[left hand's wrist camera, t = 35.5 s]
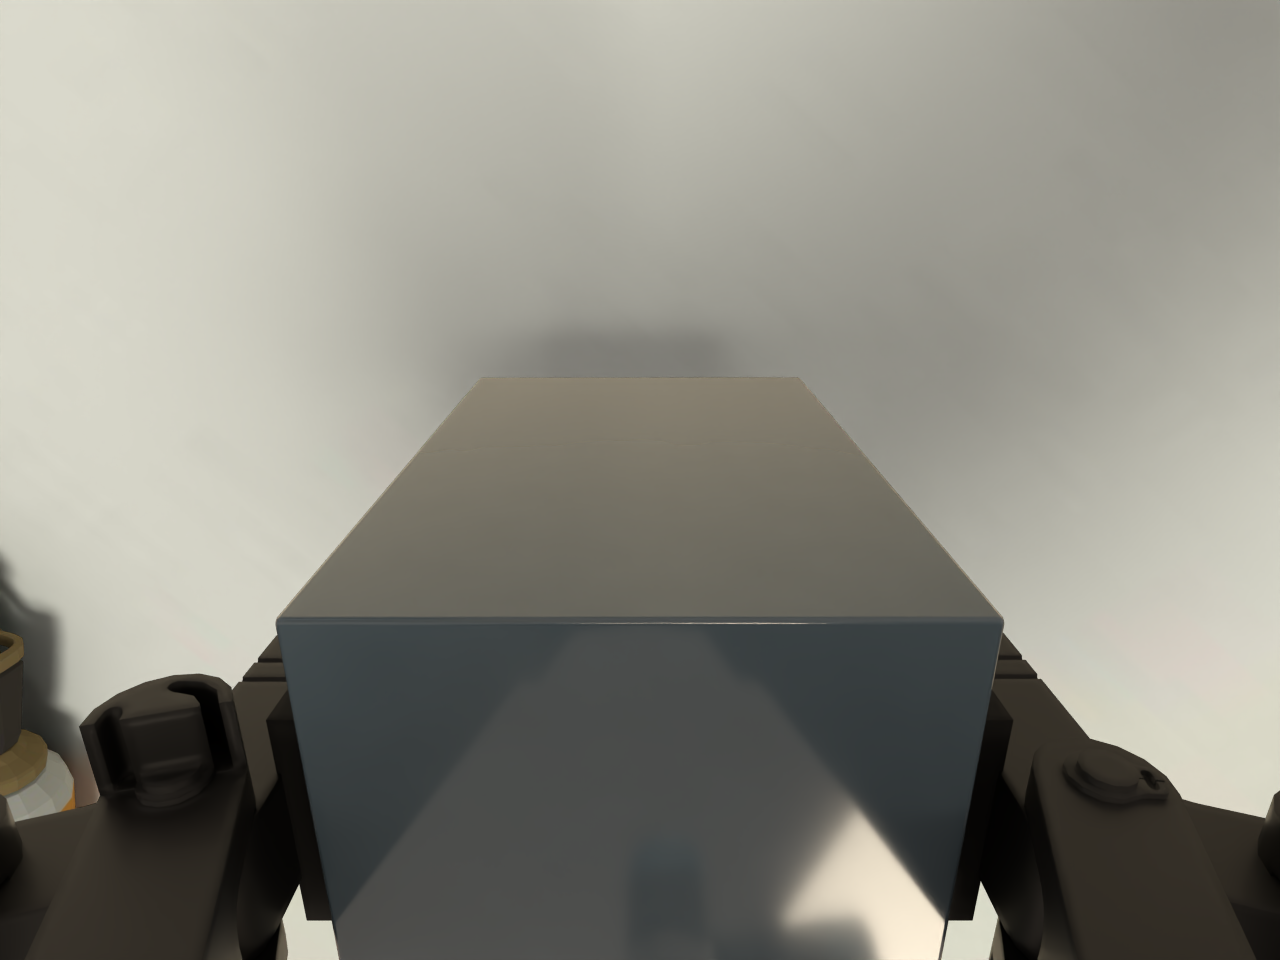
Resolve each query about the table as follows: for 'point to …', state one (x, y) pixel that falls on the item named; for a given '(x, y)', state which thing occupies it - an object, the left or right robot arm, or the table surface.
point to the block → (640, 687)
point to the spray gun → (27, 749)
